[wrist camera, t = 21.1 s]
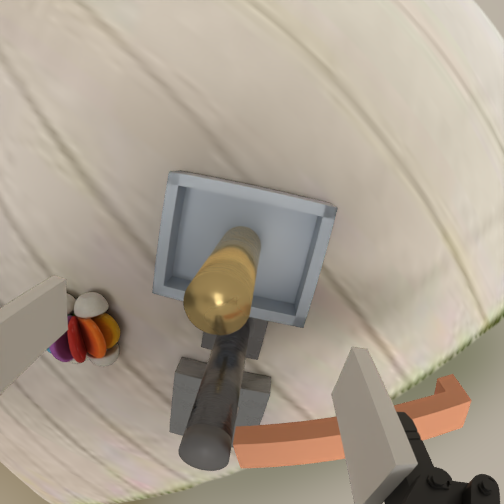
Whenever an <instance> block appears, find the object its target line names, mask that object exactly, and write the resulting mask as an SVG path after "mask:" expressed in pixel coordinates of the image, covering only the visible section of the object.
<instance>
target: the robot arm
mask: <svg viewBox="0 0 504 504" xmlns="http://www.w3.org/2000/svg"><path fill="white" fill-rule="evenodd" d="M67 330H68V319H67V296H66V279H64V278H61V277H58V276H55V275H53V276H52V277H50V278H48V279H47V280H45V281H43V282H42V283H40V284H38V285H37V286H35V287H33V288H32V289H30V290H28V291H27V292H25V293H24V294H22V295H20V296H19V297H17V298H16V299H14V300H12V301H11V302H9V303H8V304H6V305H5V306H3V307H2V308H0V395H1V394H2V393H3V392H4V391H5V390H6V389H7V388H8V387H9V386H10V385H11V384H12V383H13V382H14V381H15V380H16V379H17V378H18V377H19V376H20V375H21V374H22V373H23V372H24V371H25V370H26V369H27V368H28V367H29V366H30V365H31V364H32V363H33V362H34V361H35V360H36V359H37V358H38V357H39V356H40V355H41V354H42V353H44V352H45V351H46V350H47V349H48V348H49V347H50V346H51V345H52V344H53V343H54V342H55V341H56V340H57V339H58V338H60V337H61V336H62V335H63V334H64V333H65V332H66V331H67ZM332 399H333V403H334V408H335V412H336V417H337V421H338V426H339V430H340V435H341V439H342V444H343V449H344V454H345V459H346V464H347V468H348V474H349V479H350V484H351V489H352V494H353V499H354V504H382V503H383V502H385V504H500V493H499V487H498V484H497V482H496V481H495V480H494V479H493V478H492V477H491V476H488V475H485V474H479V475H477V476H475V477H474V478H473V479H472V480H471V481H470V482H469V483H464V482H456V481H452V478H451V477H450V475H449V474H448V473H447V472H446V471H444V470H443V469H440V468H437V467H434V466H433V464H432V462H431V459H430V457H429V455H428V452H427V450H426V448H425V446H424V443H423V441H422V440H421V437H420V435H419V432H417V431H418V430H417V428H416V426H415V424H414V422H413V420H412V419H411V418H410V417H409V416H408V415H407V414H406V413H405V412H396V410H395V408H394V405H393V403H392V401H391V399H390V396H389V394H388V392H387V390H386V388H385V385H384V383H383V381H382V379H381V377H380V374H379V372H378V370H377V368H376V366H375V364H374V362H373V359H372V357H371V355H370V353H369V351H368V349H365V348H358V347H352V348H351V350H350V352H349V355H348V357H347V360H346V362H345V364H344V367H343V369H342V372H341V374H340V376H339V378H338V381H337V383H336V385H335V387H334V390H333V392H332Z"/></svg>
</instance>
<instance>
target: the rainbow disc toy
mask: <svg viewBox="0 0 504 504" xmlns="http://www.w3.org/2000/svg"><path fill="white" fill-rule="evenodd" d="M66 296H67V319H68V330H67V331H66V332H65V333H64V334H63V335H62V336H61V337H60V338H58V339H57V340H56V341H55V342H54V343H53V344H52V345H51V346H50V347H49V348H48V349H47V351H48V352H50V353H52V355H53V356H54V357H55V358H56V359H58V360H60V361H62V362H71V363H75V364H78V363H82V362H84V361H85V360H87V358H89V360H90V361H91V362H92V363H94V364H95V365H98V366H103V367H104V366H109V365H111V364H113V363H114V362H115V361H116V359H117V358H118V355H119V346H118V344H116V343H117V342H118V340H119V337H120V328H119V326H118V324H117V322H116V321H115V320H114V319H113V317H111V316H110V315H108V314H107V313H105V311H107V309H108V307H109V306H108V303H107V301H106V299H105V298H104V297H103V296H102V295H100V294H98V293H96V292H88V293H84V294H82V295H80V296H79V297H78V298H77V300H75V298H74V297H73V296H71V295H70V294H68V293H66Z"/></svg>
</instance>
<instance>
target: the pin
mask: <svg viewBox="0 0 504 504" xmlns="http://www.w3.org/2000/svg"><path fill="white" fill-rule="evenodd" d="M260 250H261V242H260V239H259V237H258V235H257V234H256V232H255V231H253V230H252V229H250V228H248V227H245V226H237V227H233V228H231V229H230V230H228V231H227V232H226V233H225V235H224V236H223V237H222V239H221V240H220V242H219V243H218V244H217V246H216V247H215V249H214V250H213V251H212V253H211V254H210V256H209V257H208V258H207V260H206V261H205V263H204V264H203V266H202V267H201V268H200V270H199V271H198V273H197V274H196V275H195V277H194V278H193V280H192V281H191V283H190V284H189V286H188V287H187V289H186V291H185V294H184V301H183V302H184V309H185V312H186V314H187V316H188V318H189V320H190V321H191V322H192V323H193V324H194V325H195V326H196V327H197V328H199V329H200V330H202V331H204V332H206V333H209V334H213V335H226V334H230V333H233V332H235V331H237V330H239V329H240V328H241V327H242V326H243V325H244V324H245V323H246V321H247V320H248V318H249V315H250V311H251V305H252V299H253V293H254V287H255V281H256V275H257V269H258V263H259V256H260Z"/></svg>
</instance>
